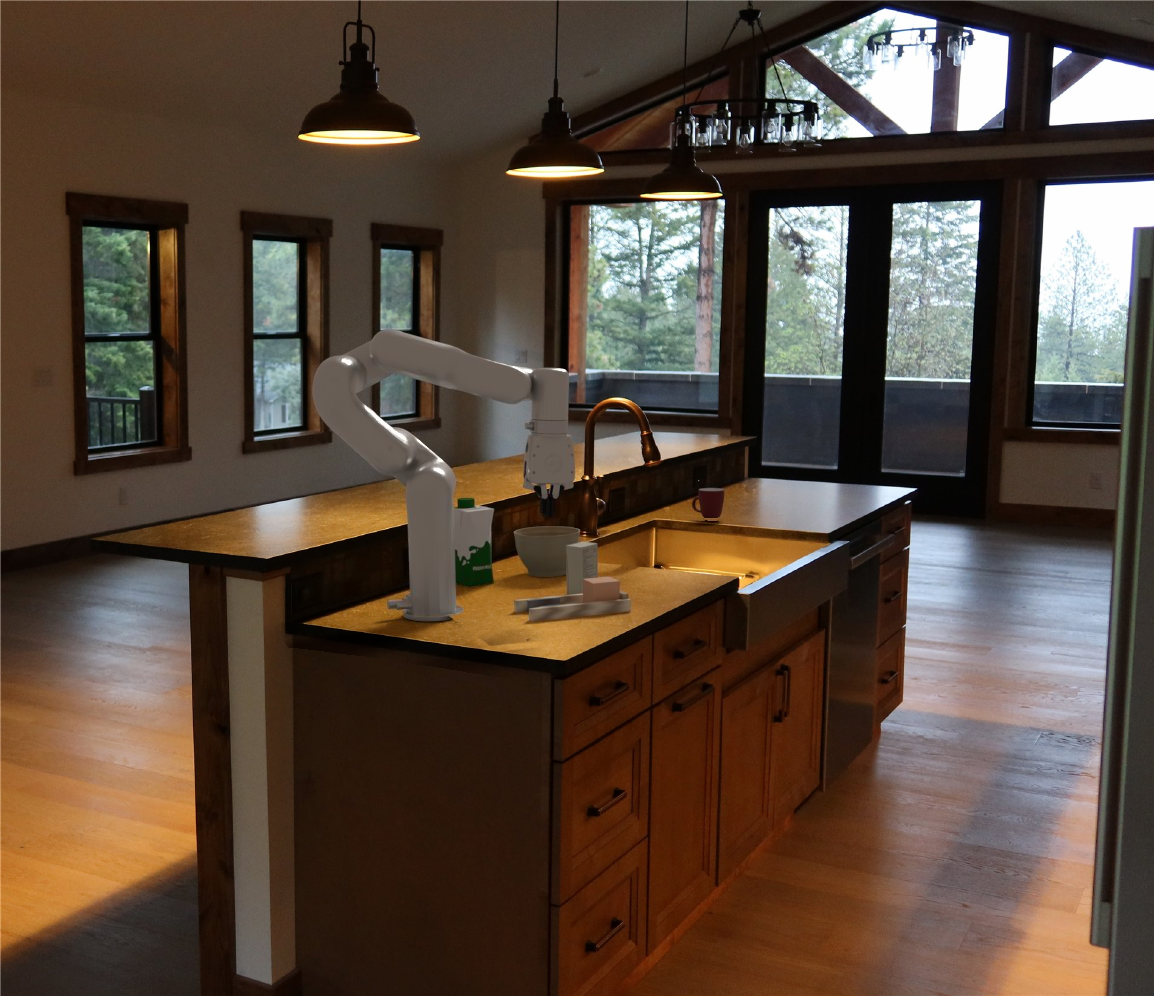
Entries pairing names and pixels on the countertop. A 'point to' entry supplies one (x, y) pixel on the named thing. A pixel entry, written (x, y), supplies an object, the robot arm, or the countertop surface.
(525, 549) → the planter bowl
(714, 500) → the mug
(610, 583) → the block
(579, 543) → the skincare box
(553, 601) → the chute
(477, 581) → the milk carton
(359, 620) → the countertop surface
